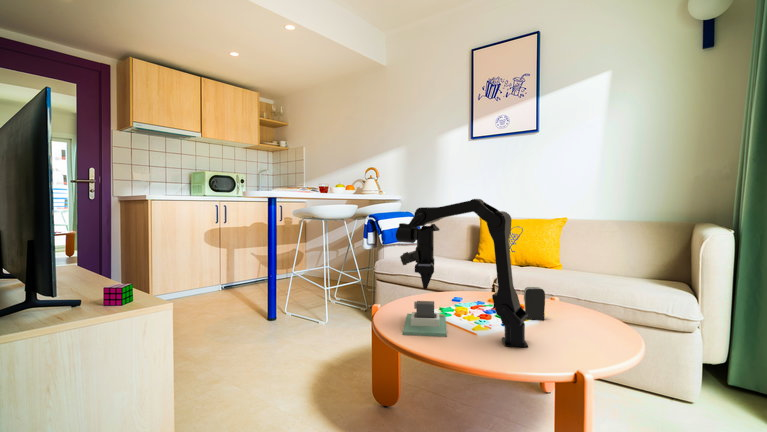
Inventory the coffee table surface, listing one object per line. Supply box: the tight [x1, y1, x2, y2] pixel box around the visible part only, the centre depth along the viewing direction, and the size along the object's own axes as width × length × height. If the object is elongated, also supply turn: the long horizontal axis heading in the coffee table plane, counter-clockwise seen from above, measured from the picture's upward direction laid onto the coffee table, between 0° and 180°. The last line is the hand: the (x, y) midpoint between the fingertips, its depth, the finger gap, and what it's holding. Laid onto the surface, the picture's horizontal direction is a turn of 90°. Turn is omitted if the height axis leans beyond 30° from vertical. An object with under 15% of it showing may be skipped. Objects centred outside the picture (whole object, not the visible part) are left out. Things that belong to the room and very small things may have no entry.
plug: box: [413, 300, 435, 318], centre depth 128 cm, size 4×7×7 cm, turn 82°
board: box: [402, 311, 448, 338], centre depth 128 cm, size 20×14×4 cm
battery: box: [523, 286, 546, 321], centre depth 135 cm, size 7×4×11 cm, turn 81°
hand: (425, 288), depth 127 cm, fingers closed
